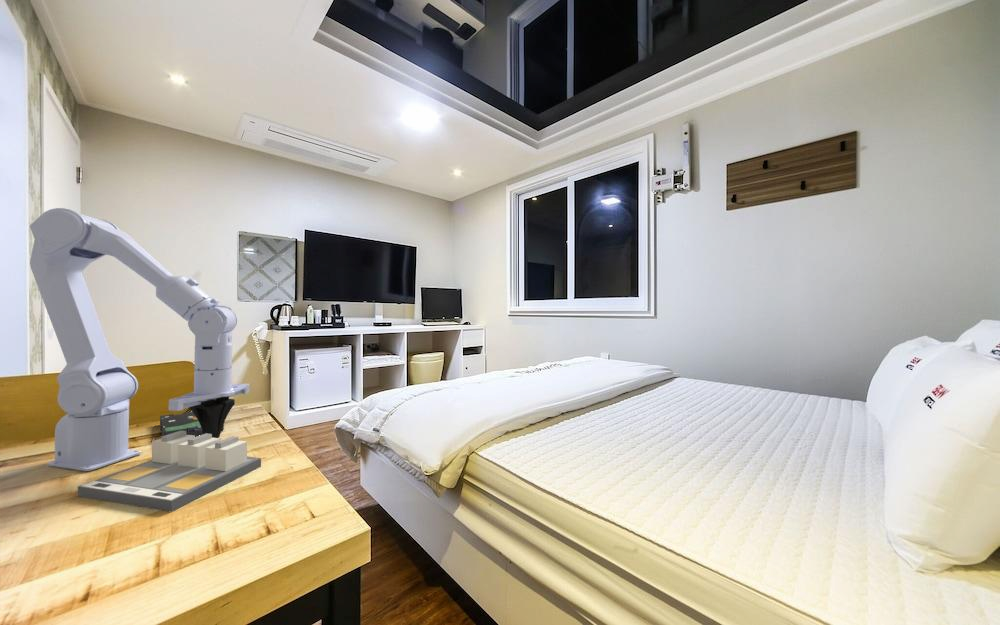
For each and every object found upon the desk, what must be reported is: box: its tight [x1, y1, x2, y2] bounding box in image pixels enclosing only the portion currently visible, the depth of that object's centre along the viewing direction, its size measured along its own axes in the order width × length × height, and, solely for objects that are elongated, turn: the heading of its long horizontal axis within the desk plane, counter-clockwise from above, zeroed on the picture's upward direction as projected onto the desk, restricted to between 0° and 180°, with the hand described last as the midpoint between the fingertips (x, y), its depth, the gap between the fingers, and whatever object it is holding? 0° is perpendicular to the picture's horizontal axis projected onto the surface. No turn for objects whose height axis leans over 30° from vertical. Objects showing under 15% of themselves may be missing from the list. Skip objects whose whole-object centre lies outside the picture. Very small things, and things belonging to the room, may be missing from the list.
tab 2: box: [178, 433, 222, 468], centre depth 63 cm, size 4×4×4 cm
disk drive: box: [159, 411, 225, 437], centre depth 84 cm, size 10×3×15 cm
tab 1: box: [151, 431, 195, 464], centre depth 64 cm, size 4×4×4 cm
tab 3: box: [205, 435, 248, 471], centre depth 62 cm, size 4×4×4 cm
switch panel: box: [77, 455, 262, 513], centre depth 60 cm, size 17×15×2 cm
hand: (212, 438), depth 71 cm, fingers closed
